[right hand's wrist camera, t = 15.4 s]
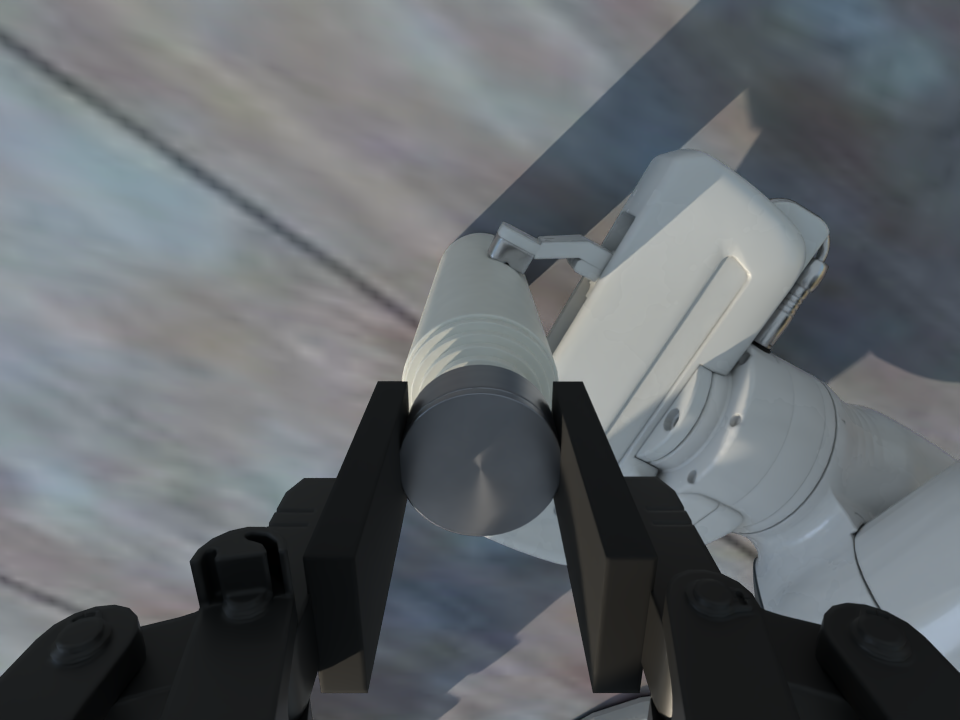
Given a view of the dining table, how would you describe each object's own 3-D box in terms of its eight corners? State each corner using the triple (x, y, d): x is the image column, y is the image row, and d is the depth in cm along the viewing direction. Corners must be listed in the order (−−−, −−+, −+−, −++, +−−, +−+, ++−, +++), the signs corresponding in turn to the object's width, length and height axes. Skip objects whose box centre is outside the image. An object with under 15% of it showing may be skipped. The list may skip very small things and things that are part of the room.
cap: (494, 333, 14) (495, 360, 12) (582, 442, 15) (595, 481, 13) (376, 420, 15) (363, 456, 13) (468, 517, 16) (466, 562, 14)
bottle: (525, 311, 33) (585, 530, 14) (444, 319, 33) (397, 547, 14) (518, 228, 31) (575, 352, 13) (432, 237, 31) (363, 375, 13)
